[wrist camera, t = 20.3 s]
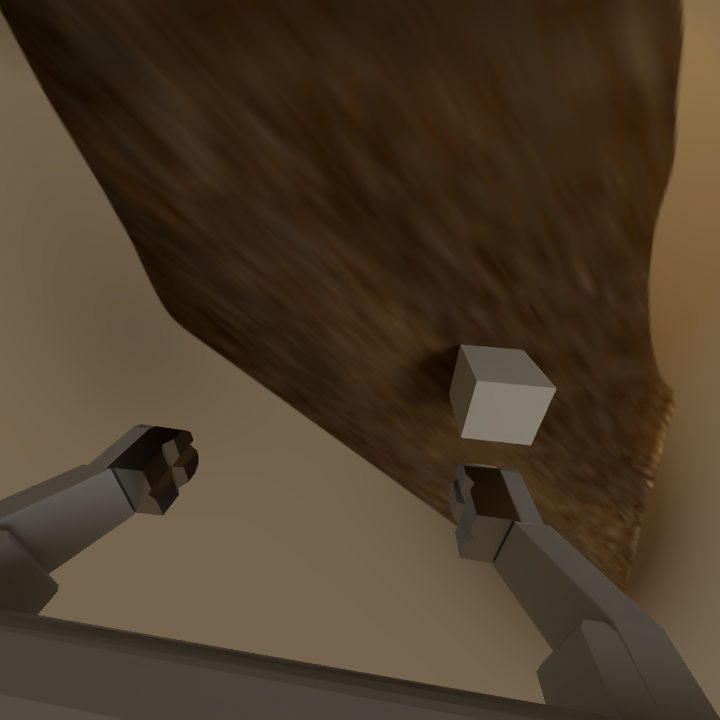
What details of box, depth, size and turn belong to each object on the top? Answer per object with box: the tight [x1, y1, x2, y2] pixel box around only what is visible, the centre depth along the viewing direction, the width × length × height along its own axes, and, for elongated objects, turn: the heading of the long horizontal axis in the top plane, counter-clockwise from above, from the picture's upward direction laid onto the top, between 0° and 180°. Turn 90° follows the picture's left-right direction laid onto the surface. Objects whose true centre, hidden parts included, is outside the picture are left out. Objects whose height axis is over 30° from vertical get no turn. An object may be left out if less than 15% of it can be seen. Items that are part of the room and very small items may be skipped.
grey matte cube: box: [449, 345, 556, 445], centre depth 31 cm, size 7×7×8 cm
